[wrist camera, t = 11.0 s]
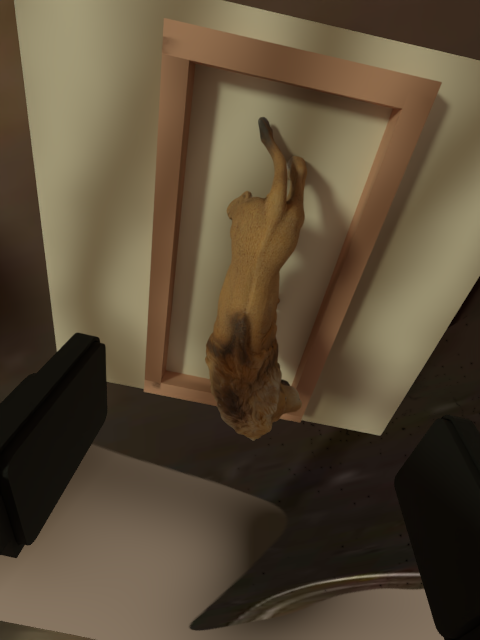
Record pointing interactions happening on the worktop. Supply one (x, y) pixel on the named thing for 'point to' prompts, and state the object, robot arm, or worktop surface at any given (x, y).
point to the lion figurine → (256, 300)
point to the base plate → (251, 190)
